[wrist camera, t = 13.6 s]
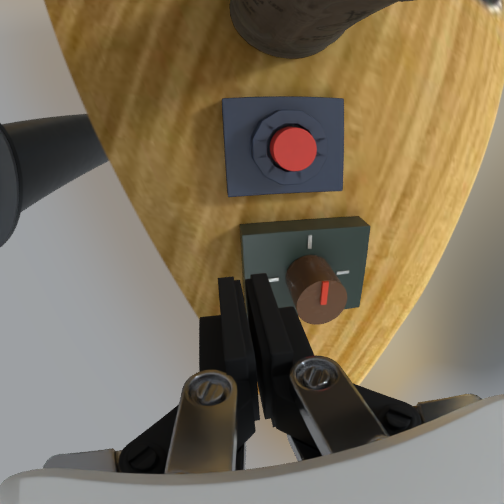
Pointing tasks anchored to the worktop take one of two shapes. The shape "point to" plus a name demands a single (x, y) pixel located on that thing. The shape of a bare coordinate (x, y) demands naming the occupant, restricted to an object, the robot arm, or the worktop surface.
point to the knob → (315, 290)
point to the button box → (259, 137)
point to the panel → (306, 252)
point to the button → (293, 148)
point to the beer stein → (298, 23)
